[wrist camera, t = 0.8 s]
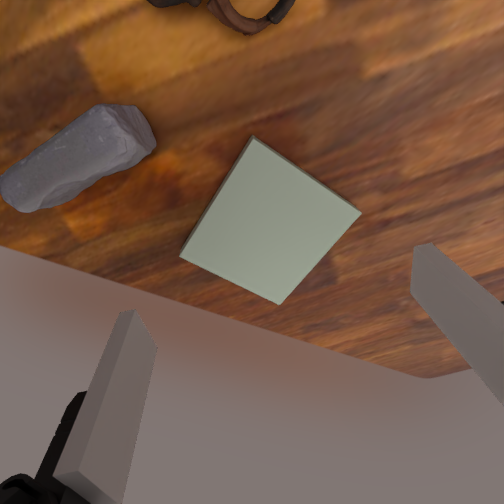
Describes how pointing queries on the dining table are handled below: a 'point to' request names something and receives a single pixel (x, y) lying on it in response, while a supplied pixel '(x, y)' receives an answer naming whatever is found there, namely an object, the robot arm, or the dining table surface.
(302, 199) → the base
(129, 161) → the stone block
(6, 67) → the dining table surface
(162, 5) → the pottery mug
